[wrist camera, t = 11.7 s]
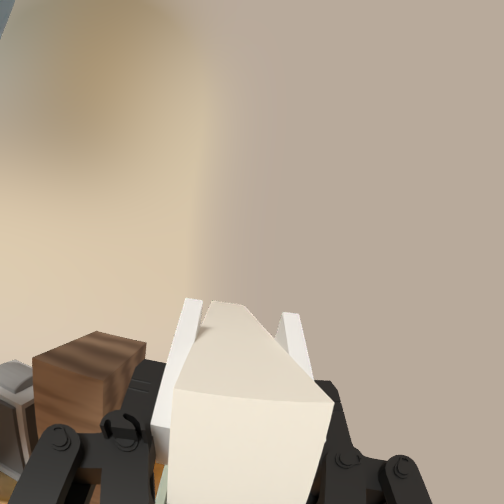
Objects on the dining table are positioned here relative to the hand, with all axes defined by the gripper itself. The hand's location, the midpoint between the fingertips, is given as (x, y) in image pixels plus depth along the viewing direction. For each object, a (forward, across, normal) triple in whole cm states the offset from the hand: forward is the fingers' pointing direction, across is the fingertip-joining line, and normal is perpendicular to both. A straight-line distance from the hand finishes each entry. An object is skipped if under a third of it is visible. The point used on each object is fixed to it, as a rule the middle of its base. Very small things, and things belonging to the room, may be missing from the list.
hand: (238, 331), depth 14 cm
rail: (+4, 0, -6) cm, 7 cm away
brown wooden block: (+2, -16, -45) cm, 48 cm away
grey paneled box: (+6, -34, -47) cm, 59 cm away
